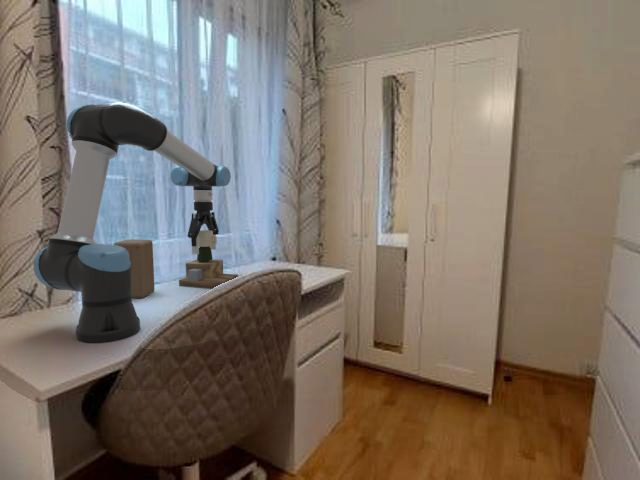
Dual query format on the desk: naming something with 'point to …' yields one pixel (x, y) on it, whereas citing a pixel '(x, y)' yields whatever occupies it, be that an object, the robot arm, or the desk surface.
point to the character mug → (205, 245)
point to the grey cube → (195, 274)
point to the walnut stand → (207, 274)
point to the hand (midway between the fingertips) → (204, 251)
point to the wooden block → (140, 266)
